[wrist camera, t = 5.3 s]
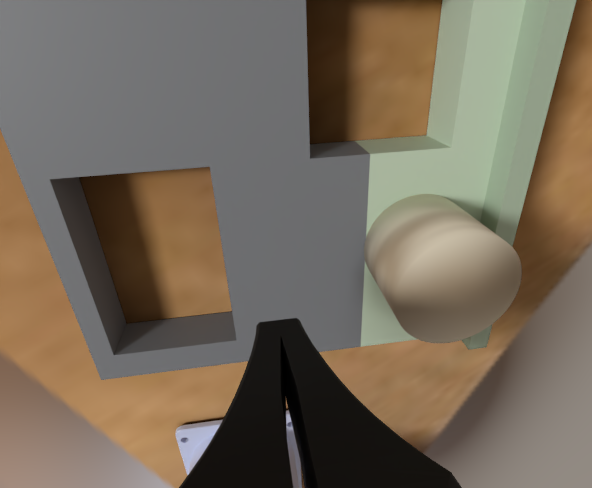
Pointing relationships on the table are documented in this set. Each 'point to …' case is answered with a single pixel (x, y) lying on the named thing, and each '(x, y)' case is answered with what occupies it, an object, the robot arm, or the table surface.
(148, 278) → the table surface
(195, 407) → the table surface
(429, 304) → the beige rounded cylinder
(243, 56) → the trap deck
